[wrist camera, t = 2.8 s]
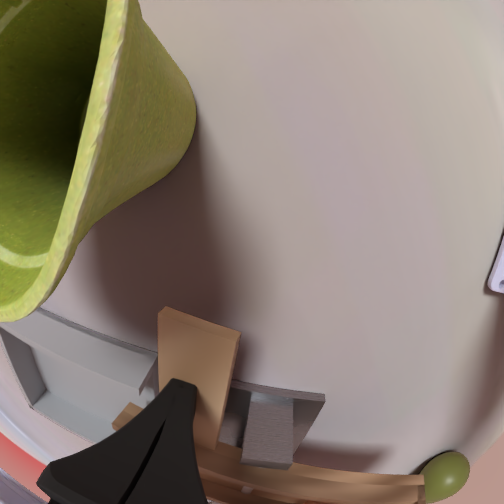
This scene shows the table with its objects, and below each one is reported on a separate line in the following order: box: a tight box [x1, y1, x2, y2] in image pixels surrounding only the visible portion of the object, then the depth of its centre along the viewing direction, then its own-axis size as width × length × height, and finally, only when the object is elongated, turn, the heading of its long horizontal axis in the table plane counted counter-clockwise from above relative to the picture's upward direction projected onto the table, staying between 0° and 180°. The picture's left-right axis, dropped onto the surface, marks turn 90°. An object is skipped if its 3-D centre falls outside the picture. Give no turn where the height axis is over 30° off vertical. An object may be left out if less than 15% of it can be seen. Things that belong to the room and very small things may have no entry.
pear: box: [419, 452, 470, 504], centre depth 16 cm, size 6×5×10 cm
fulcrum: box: [219, 380, 325, 470], centre depth 14 cm, size 6×9×5 cm, turn 169°
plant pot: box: [0, 0, 196, 323], centre depth 7 cm, size 9×9×9 cm
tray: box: [0, 307, 159, 445], centre depth 15 cm, size 12×10×3 cm
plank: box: [111, 306, 426, 504], centre depth 10 cm, size 18×13×2 cm
